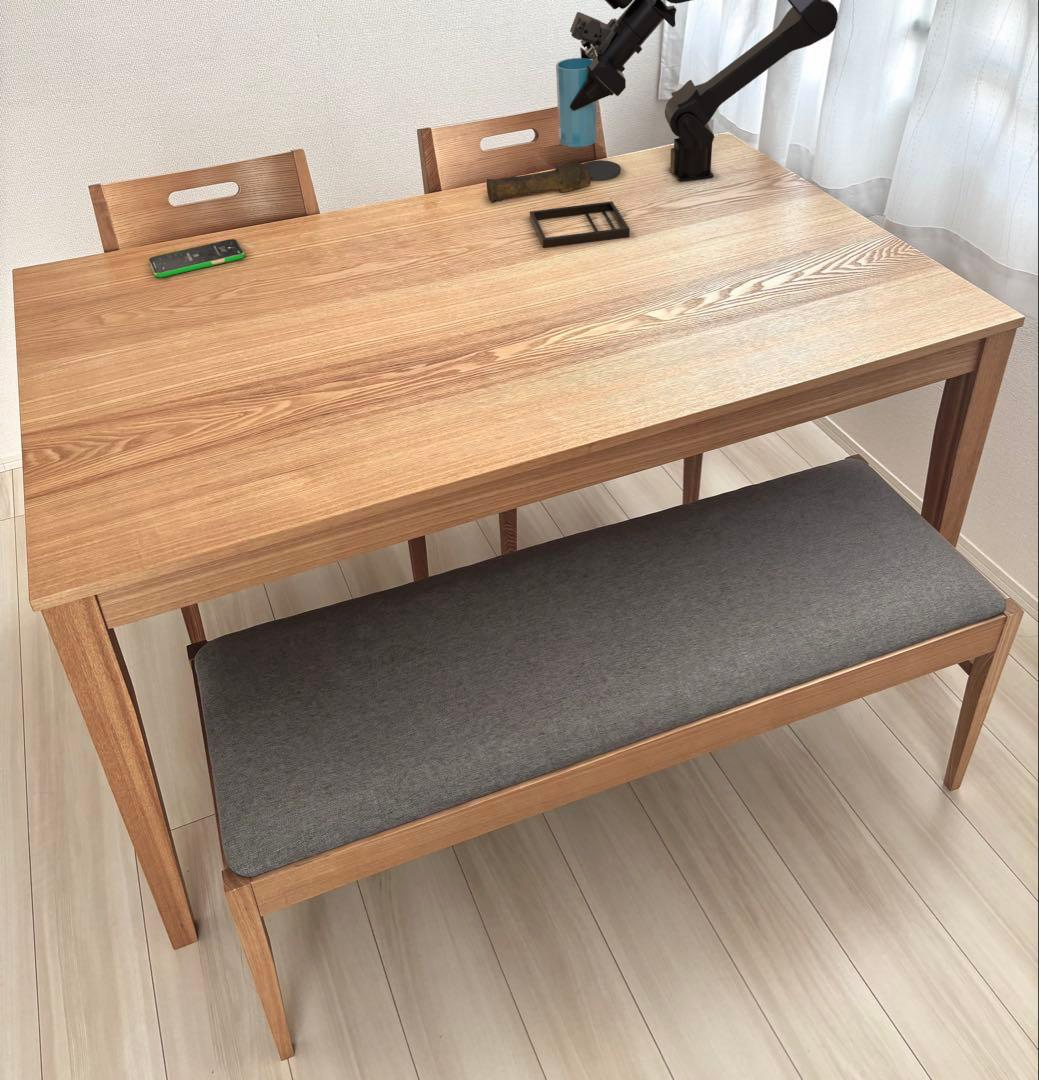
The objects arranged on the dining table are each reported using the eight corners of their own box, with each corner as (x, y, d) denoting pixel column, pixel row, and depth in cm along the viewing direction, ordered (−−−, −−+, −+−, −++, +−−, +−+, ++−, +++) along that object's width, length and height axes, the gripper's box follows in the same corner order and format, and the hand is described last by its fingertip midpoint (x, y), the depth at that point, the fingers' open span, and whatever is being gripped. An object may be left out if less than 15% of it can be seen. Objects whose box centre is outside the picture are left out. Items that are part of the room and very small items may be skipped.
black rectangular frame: (612, 209, 183) (612, 201, 182) (629, 237, 174) (629, 228, 173) (530, 219, 181) (529, 211, 180) (543, 248, 172) (542, 239, 171)
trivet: (614, 162, 199) (614, 158, 199) (625, 177, 193) (625, 173, 193) (573, 167, 198) (573, 163, 198) (582, 183, 192) (582, 178, 192)
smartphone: (147, 257, 176) (235, 236, 180) (148, 262, 176) (236, 242, 180) (154, 274, 170) (245, 253, 174) (156, 279, 171) (246, 258, 175)
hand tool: (490, 205, 187) (488, 180, 184) (486, 197, 190) (484, 171, 187) (593, 192, 189) (593, 167, 186) (588, 184, 192) (588, 159, 189)
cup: (603, 136, 188) (603, 59, 180) (586, 149, 184) (584, 71, 176) (570, 131, 191) (568, 56, 183) (552, 144, 187) (549, 67, 178)
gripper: (592, -20, 180) (531, 54, 187) (605, 8, 165) (539, 87, 172) (637, 26, 185) (577, 96, 192) (653, 57, 170) (587, 131, 178)
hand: (569, 101), depth 183 cm, fingers closed on cup, 7 cm apart
